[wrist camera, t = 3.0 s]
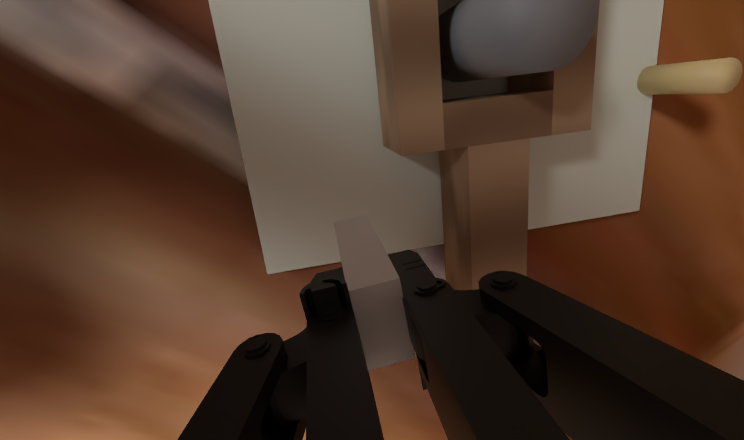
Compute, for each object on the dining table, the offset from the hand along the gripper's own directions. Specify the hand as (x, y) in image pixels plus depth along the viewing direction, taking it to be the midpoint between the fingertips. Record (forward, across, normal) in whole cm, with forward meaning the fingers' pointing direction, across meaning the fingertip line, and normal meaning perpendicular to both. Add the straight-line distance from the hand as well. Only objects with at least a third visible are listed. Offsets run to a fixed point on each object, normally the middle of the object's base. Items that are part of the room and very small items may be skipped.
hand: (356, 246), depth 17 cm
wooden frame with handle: (+5, +7, +3) cm, 9 cm away
